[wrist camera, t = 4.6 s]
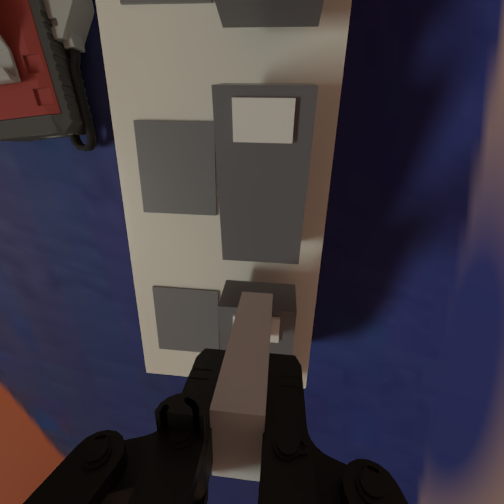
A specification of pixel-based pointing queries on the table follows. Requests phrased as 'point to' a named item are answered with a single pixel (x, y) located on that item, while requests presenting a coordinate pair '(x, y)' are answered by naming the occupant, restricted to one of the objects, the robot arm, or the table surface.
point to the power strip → (206, 159)
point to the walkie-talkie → (44, 71)
